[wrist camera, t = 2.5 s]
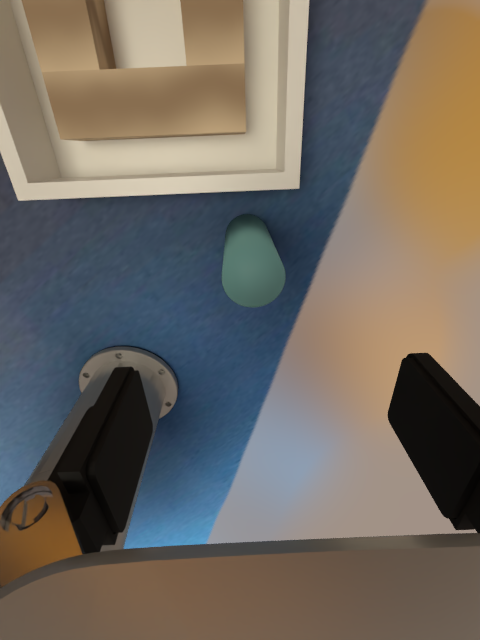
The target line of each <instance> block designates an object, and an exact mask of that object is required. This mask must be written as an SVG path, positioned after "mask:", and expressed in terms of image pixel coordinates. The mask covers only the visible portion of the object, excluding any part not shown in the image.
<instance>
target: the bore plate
mask: <svg viewBox="0 0 480 640" xmlns="http://www.w3.org/2000/svg"><path fill="white" fill-rule="evenodd" d="M180 3H181V13H182V23H183V34H184V44H185V55H186V65H187V66H171V67H148V68H124V69H116V64H115V59H114V53H113V48H112V43H111V37H110V32H109V26H108V21H107V15H106V10H105V5H104V0H22V4H23V8H24V11H25V15H26V18H27V22H28V25H29V29H30V33H31V36H32V40H33V43H34V47H35V50H36V54H37V58H38V61H39V65H40V68H41V72H42V75H43V79H44V83H45V86H46V90H47V93H48V97H49V100H50V104H51V108H52V111H53V115H54V118H55V122H56V125H57V129H58V133H59V136H60V140H74V141H98V140H121V139H145V138H168V137H192V136H215V135H238V134H245V133H246V103H245V60H244V17H243V0H180Z"/></svg>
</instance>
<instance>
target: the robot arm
mask: <svg viewBox="0 0 480 640" xmlns="http://www.w3.org/2000/svg"><path fill="white" fill-rule="evenodd" d="M79 387H80V391H81V393H82V394H81V395H80V397H79V399H78V400H77V402H76V403H75V405H74V407H73V408H72V410H71V411H70V413H69V415H68V416H67V418H66V419H65V421H64V423H63V424H62V426H61V427H60V429H59V431H58V432H57V434H56V435H55V437H54V439H53V440H52V442H51V443H50V445H49V447H48V448H47V450H46V452H45V453H44V455H43V456H42V458H41V460H40V461H39V463H38V464H37V466H36V468H35V469H34V471H33V472H32V474H31V476H30V477H29V479H28V480H27V482H26V484H25V485H24V487H22V488H20V489H19V490H17V491H16V492H14V493H13V494H12V495H11V496H10V497H9V498H8V499H7V500H6V501H4V503H3V504H2V505H1V507H0V640H480V406H479V405H478V404H477V403H476V402H475V401H474V400H473V399H472V398H471V397H470V396H469V395H468V394H467V393H466V392H465V391H464V390H463V389H462V388H461V387H460V386H459V385H458V383H456V381H455V380H453V378H452V377H451V376H450V375H449V374H448V373H447V372H446V371H445V370H444V369H443V368H442V367H441V366H440V365H439V364H438V363H437V362H436V361H435V360H434V359H433V358H432V357H431V355H429V354H428V353H412V354H408V355H407V357H406V358H404V359H403V360H402V362H401V366H400V370H399V373H398V377H397V381H396V384H395V388H394V392H393V396H392V399H391V403H390V407H389V410H388V420H389V422H390V424H391V426H392V428H393V429H394V431H395V433H396V435H397V436H398V438H399V440H400V442H401V443H402V445H403V447H404V449H405V450H406V452H407V454H408V456H409V457H410V459H411V461H412V463H413V464H414V466H415V468H416V470H417V471H418V473H419V475H420V477H421V478H422V480H423V482H424V483H425V485H426V487H427V489H428V490H429V492H430V494H431V496H432V498H433V499H434V501H435V503H436V505H437V506H438V508H439V510H440V511H441V513H442V514H443V516H444V517H446V518H449V519H450V521H451V523H452V524H453V526H454V528H455V529H456V530H469V529H475V530H476V531H477V533H466V534H432V535H404V536H379V537H354V538H333V539H332V538H331V539H308V540H285V541H262V542H243V543H221V544H200V545H180V546H164V547H149V548H134V549H123V548H124V544H125V540H126V537H127V533H128V529H129V525H130V522H131V518H132V514H133V511H134V507H135V503H136V500H137V496H138V492H139V489H140V485H141V482H142V478H143V474H144V471H145V467H146V463H147V460H148V456H149V453H150V449H151V445H152V442H153V438H154V435H155V431H156V427H157V424H158V420H159V418H161V417H163V416H165V415H166V414H167V413H168V412H169V411H170V410H171V409H172V408H173V406H174V404H175V402H176V399H177V395H178V383H177V379H176V377H175V374H174V372H173V371H172V370H171V368H170V367H169V366H168V365H167V364H166V363H165V362H164V361H163V360H162V359H160V358H159V357H157V356H156V355H154V354H152V353H150V352H148V351H145V350H142V349H139V348H134V347H112V348H107V349H104V350H101V351H99V352H97V353H96V354H94V355H93V356H92V357H91V358H90V359H89V360H88V361H87V362H86V363H85V365H84V366H83V368H82V370H81V372H80V375H79Z"/></svg>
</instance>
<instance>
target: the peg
mask: <svg viewBox="0 0 480 640" xmlns="http://www.w3.org/2000/svg"><path fill="white" fill-rule="evenodd" d="M284 284H285V269H284V266H283V264H282V262H281V259H280V257H279V255H278V252H277V250H276V248H275V246H274V243H273V241H272V239H271V237H270V234H269V232H268V230H267V227H266V225H265V224H264V222H263V221H262V220H261V219H260V218H258V217H257V216H254V215H251V214H243V215H240V216H237V217H236V218H234V219H233V220H232V221H231V222H230V223H229V225H228V227H227V230H226V235H225V246H224V257H223V268H222V285H223V288H224V290H225V292H226V294H227V295H228V296H229V298H230V299H232V300H233V301H234V302H236V303H237V304H239V305H242V306H245V307H260V306H263V305H266V304H268V303H270V302H272V301H273V300H274V299H275V298H276V297H277V296H278V295H279V294H280V293H281V291H282V289H283V287H284Z"/></svg>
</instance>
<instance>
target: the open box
mask: <svg viewBox="0 0 480 640" xmlns="http://www.w3.org/2000/svg"><path fill="white" fill-rule="evenodd" d="M104 5H105V10H106V15H107V21H108V26H109V32H110V37H111V43H112V48H113V53H114V59H115V64H116V69H124V68H148V67H171V66H187V65H186V55H185V44H184V34H183V23H182V13H181V3H180V0H104ZM308 14H309V0H243V17H244V60H245V103H246V133H245V134H238V135H215V136H192V137H168V138H145V139H121V140H98V141H74V140H60V136H59V133H58V129H57V125H56V122H55V118H54V115H53V111H52V108H51V104H50V100H49V97H48V93H47V90H46V86H45V83H44V79H43V75H42V72H41V68H40V65H39V61H38V58H37V54H36V50H35V47H34V43H33V40H32V36H31V33H30V29H29V25H28V22H27V18H26V15H25V11H24V8H23V4H22V0H0V152H1V155H2V157H3V160H4V163H5V166H6V168H7V171H8V174H9V176H10V179H11V182H12V185H13V187H14V190H15V193H16V195H17V198H18V201H21V200H44V199H68V198H91V197H114V196H138V195H161V194H185V193H208V192H231V191H255V190H278V189H299V183H300V164H301V146H302V127H303V108H304V89H305V71H306V52H307V33H308Z"/></svg>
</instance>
